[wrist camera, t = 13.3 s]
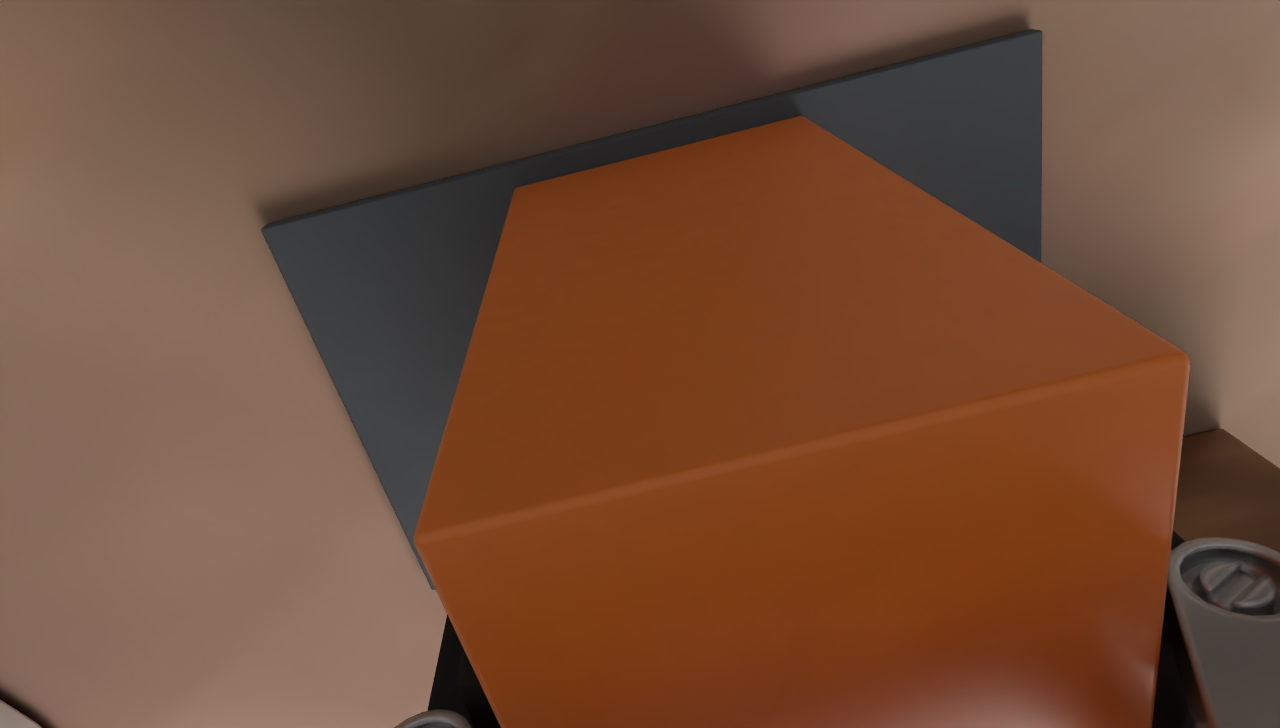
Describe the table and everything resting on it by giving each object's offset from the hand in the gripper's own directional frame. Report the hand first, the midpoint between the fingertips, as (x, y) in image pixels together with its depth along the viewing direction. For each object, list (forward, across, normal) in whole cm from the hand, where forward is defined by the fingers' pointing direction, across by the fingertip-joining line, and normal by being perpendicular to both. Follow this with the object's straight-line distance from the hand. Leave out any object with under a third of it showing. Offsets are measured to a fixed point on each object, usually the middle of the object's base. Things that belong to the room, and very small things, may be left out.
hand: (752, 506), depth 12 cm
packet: (+6, 0, 0) cm, 6 cm away
